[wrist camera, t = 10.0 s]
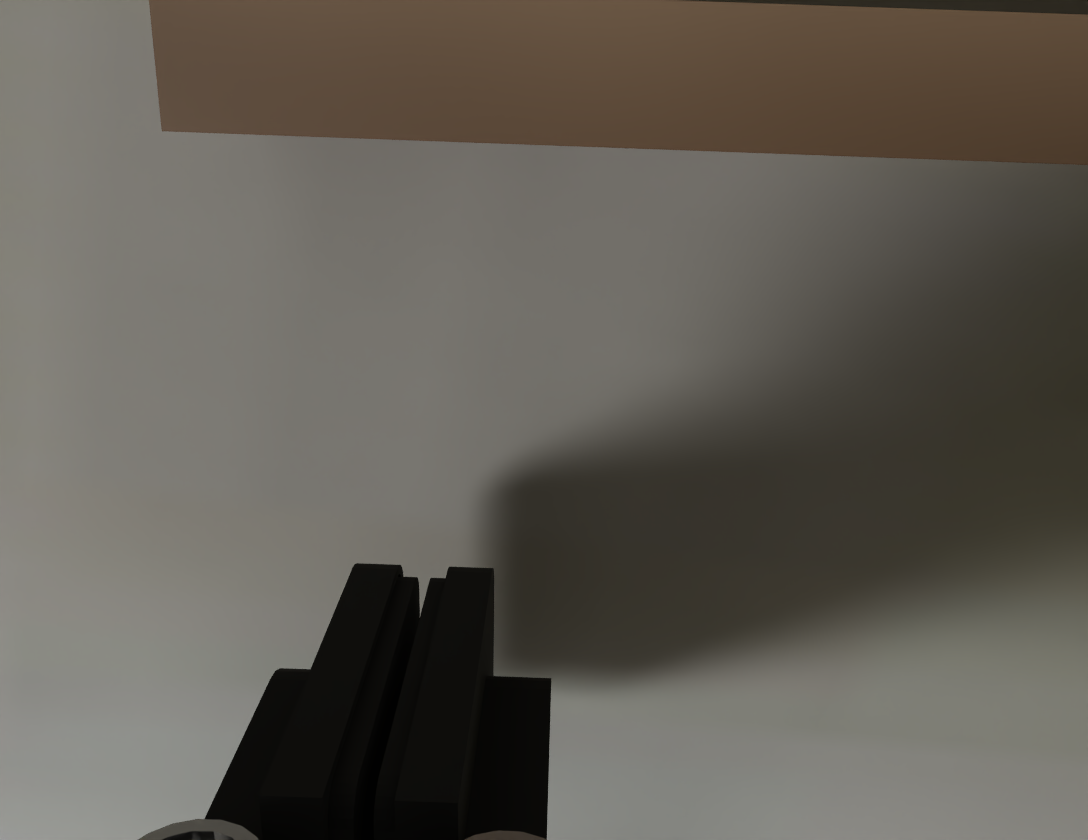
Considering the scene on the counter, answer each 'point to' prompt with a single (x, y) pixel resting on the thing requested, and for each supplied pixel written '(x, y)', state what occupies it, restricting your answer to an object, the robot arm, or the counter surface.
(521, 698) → the robot arm
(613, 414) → the counter surface
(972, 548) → the counter surface
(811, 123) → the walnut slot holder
